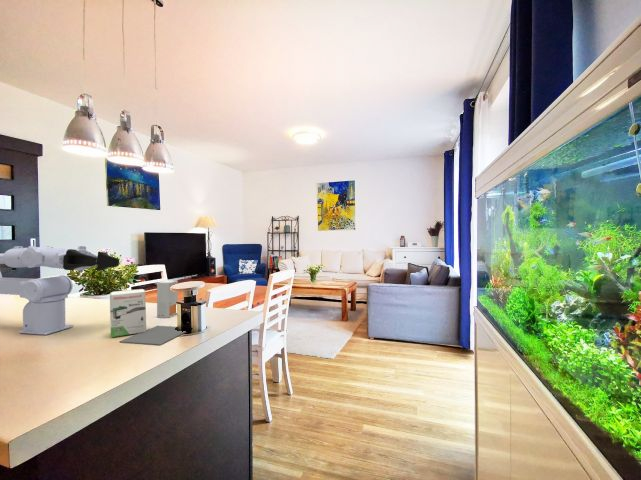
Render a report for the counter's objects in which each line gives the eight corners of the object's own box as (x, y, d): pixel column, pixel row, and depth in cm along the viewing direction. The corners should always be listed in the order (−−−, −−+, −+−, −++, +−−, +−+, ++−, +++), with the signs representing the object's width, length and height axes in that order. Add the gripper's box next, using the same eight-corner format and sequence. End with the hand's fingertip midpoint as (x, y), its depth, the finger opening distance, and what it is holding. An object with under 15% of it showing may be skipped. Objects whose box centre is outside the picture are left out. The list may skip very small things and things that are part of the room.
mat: (119, 342, 79) (119, 341, 79) (157, 326, 93) (157, 325, 93) (160, 345, 77) (160, 344, 77) (193, 328, 90) (193, 327, 90)
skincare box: (168, 318, 102) (168, 282, 102) (156, 317, 102) (156, 282, 102) (178, 313, 108) (178, 280, 108) (166, 313, 108) (166, 279, 108)
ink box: (110, 338, 82) (108, 294, 82) (111, 333, 86) (109, 292, 86) (147, 331, 87) (145, 290, 86) (146, 327, 91) (144, 288, 91)
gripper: (41, 242, 81) (85, 245, 79) (90, 247, 95) (128, 250, 93) (37, 268, 80) (81, 272, 78) (87, 269, 94) (125, 273, 92)
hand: (106, 262), depth 85 cm, fingers open, 7 cm apart
